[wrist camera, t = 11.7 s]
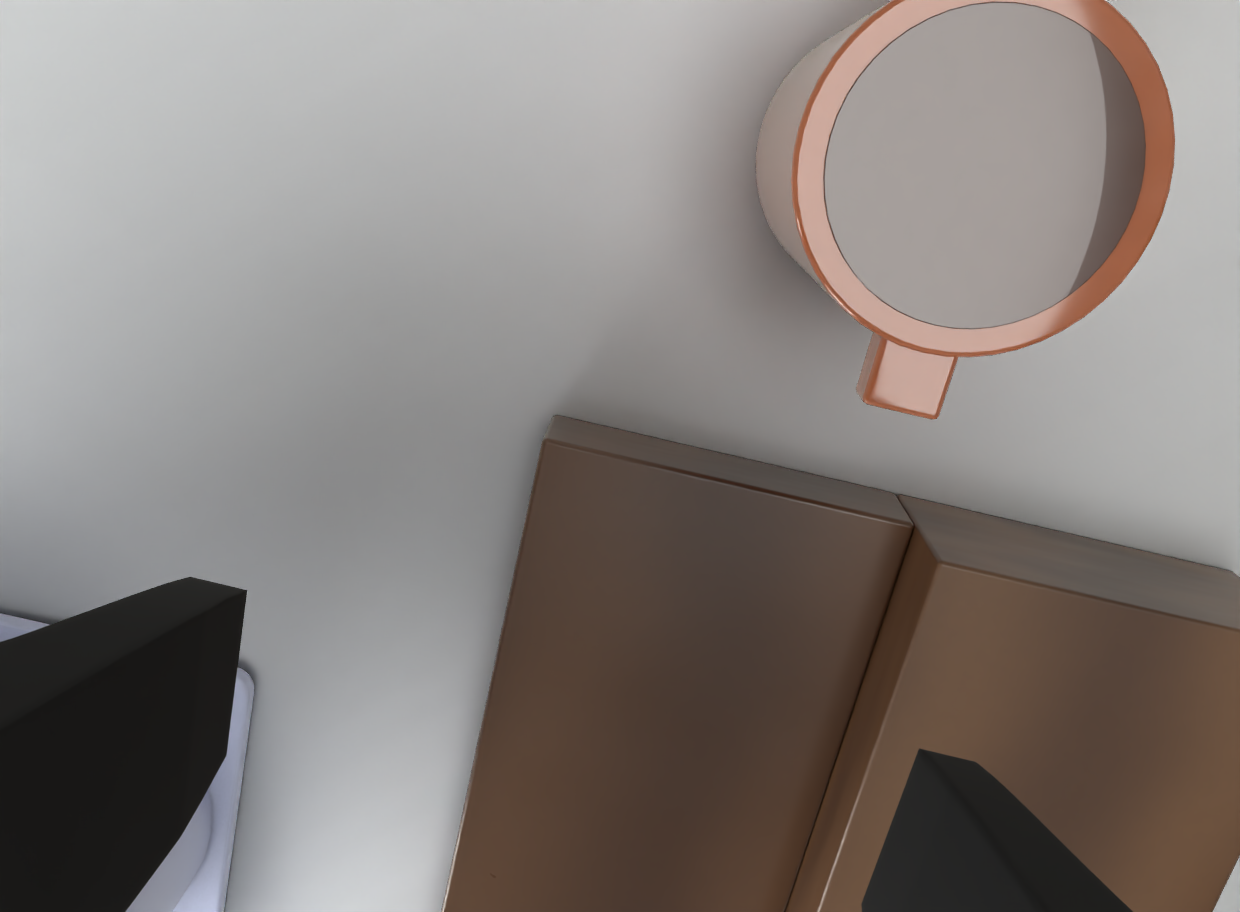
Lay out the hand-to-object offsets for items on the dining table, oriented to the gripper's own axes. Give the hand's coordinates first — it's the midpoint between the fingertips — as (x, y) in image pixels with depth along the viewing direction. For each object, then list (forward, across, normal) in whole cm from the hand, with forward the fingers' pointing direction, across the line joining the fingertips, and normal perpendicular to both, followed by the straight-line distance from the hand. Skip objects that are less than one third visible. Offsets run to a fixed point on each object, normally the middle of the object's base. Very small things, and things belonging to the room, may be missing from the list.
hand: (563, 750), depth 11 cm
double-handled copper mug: (+11, -3, -6) cm, 13 cm away
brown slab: (+10, -5, +8) cm, 14 cm away
